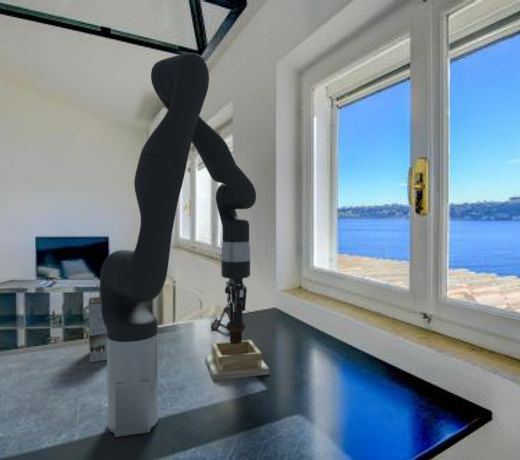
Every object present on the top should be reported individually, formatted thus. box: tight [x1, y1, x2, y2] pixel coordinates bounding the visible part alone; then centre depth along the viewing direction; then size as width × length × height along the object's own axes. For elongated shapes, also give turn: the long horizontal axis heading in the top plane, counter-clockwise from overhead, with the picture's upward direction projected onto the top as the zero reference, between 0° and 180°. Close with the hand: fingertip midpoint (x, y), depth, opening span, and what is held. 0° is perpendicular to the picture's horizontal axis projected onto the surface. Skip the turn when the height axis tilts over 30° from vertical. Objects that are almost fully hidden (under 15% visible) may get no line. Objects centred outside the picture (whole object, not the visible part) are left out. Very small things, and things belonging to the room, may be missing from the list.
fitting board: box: [205, 339, 270, 381], centre depth 103 cm, size 14×14×5 cm
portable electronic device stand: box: [210, 302, 230, 331], centre depth 140 cm, size 9×8×8 cm
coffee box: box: [88, 296, 107, 363], centre depth 111 cm, size 9×6×16 cm
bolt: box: [224, 285, 248, 345], centre depth 103 cm, size 6×5×15 cm
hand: (235, 323), depth 103 cm, fingers closed on bolt, 4 cm apart
